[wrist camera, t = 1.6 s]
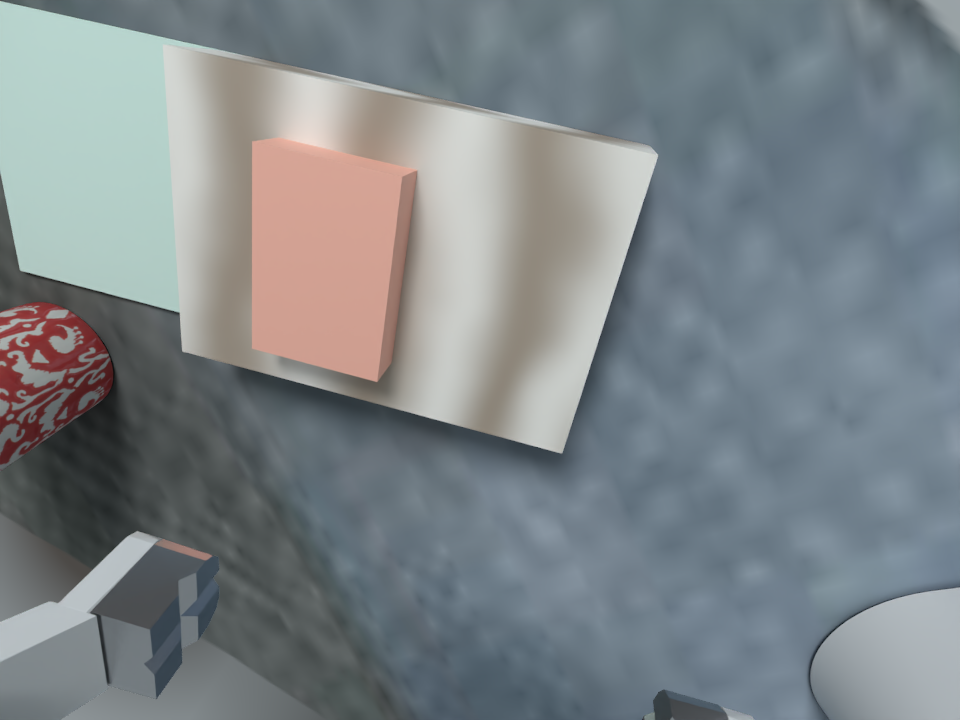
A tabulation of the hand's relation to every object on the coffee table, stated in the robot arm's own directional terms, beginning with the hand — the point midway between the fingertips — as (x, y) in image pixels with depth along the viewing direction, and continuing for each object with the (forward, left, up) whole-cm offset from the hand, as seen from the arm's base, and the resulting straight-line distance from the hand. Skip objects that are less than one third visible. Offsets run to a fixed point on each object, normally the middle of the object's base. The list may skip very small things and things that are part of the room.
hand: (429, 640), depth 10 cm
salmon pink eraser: (+9, 0, -16) cm, 19 cm away
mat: (+23, 0, -20) cm, 31 cm away
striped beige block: (+7, 0, -20) cm, 21 cm away
